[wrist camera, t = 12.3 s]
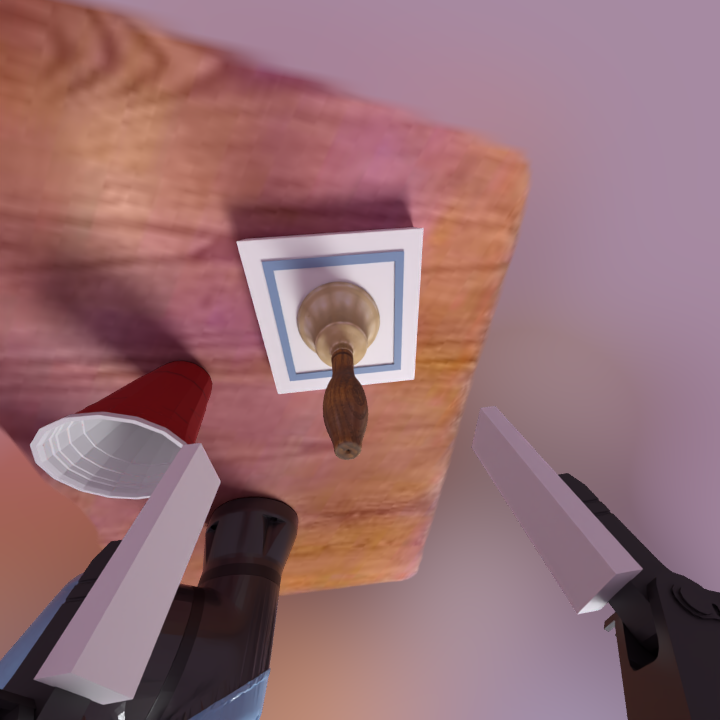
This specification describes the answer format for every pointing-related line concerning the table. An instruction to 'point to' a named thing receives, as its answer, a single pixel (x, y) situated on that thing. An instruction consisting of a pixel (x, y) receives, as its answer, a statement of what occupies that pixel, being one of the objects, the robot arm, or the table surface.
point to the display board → (325, 265)
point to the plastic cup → (127, 434)
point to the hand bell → (341, 356)
